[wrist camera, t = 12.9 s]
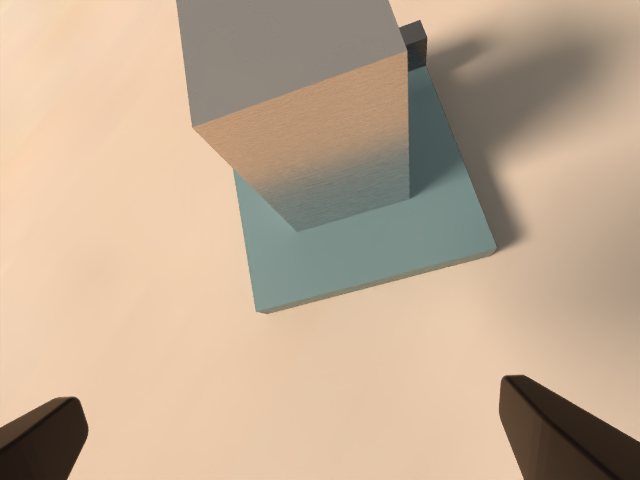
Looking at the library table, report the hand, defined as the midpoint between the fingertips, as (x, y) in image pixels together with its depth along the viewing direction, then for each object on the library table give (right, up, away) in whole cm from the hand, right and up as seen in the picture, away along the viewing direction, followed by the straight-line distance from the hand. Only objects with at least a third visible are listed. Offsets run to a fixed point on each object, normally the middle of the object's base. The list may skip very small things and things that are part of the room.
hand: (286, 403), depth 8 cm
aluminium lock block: (+2, +7, +12) cm, 14 cm away
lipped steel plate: (+2, +7, +13) cm, 15 cm away
